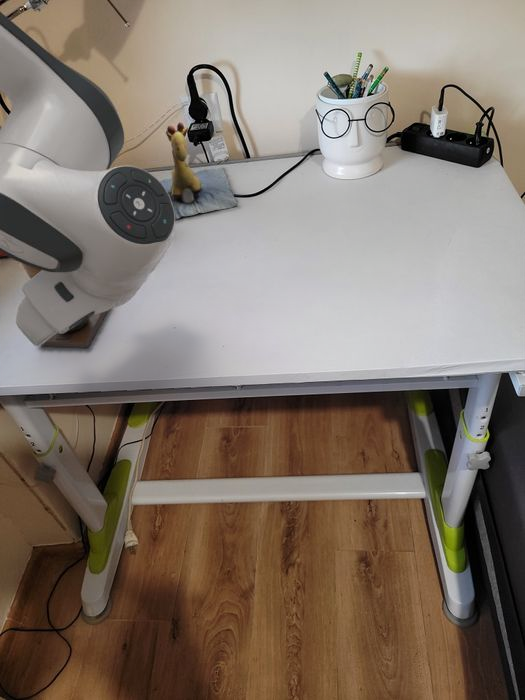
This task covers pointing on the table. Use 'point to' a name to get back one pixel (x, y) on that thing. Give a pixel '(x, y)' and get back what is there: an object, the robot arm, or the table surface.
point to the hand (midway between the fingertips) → (87, 302)
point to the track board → (77, 334)
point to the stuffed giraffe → (194, 182)
